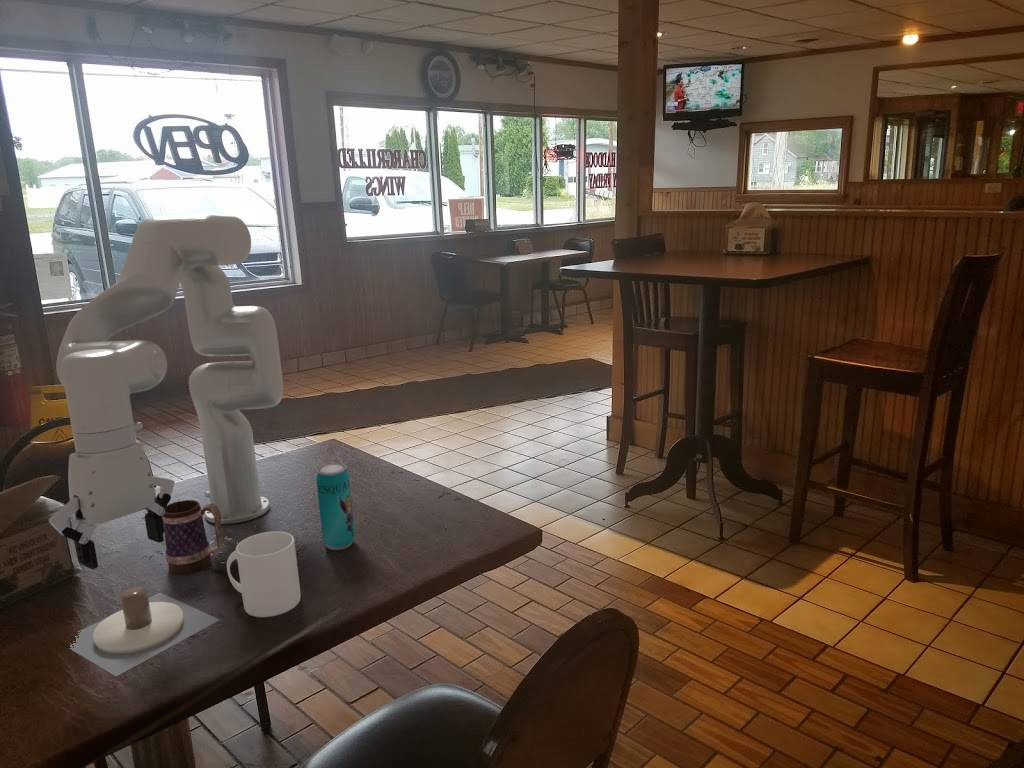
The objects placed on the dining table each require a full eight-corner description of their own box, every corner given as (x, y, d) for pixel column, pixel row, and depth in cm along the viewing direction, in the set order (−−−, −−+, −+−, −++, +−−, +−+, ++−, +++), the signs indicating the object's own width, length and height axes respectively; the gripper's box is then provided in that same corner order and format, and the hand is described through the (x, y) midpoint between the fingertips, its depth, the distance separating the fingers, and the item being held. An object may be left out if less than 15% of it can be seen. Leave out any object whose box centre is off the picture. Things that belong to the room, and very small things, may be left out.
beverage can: (347, 552, 134) (339, 474, 130) (318, 550, 135) (309, 473, 131) (360, 538, 139) (353, 463, 136) (331, 537, 140) (324, 462, 137)
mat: (58, 644, 109) (57, 641, 108) (160, 595, 121) (160, 592, 121) (116, 680, 100) (116, 676, 100) (220, 623, 113) (220, 619, 112)
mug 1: (160, 577, 127) (149, 512, 125) (182, 558, 134) (173, 496, 131) (216, 579, 126) (206, 513, 123) (236, 559, 133) (227, 496, 130)
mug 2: (248, 586, 123) (240, 526, 121) (311, 595, 120) (305, 534, 117) (214, 613, 115) (204, 550, 113) (280, 624, 112) (272, 559, 109)
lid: (78, 638, 109) (70, 600, 107) (154, 601, 119) (149, 565, 117) (123, 664, 102) (115, 623, 101) (200, 622, 112) (194, 585, 111)
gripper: (149, 420, 112) (165, 526, 116) (25, 452, 98) (47, 571, 102) (178, 426, 108) (194, 536, 112) (52, 460, 94) (75, 584, 98)
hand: (124, 553), depth 107 cm, fingers open, 9 cm apart
